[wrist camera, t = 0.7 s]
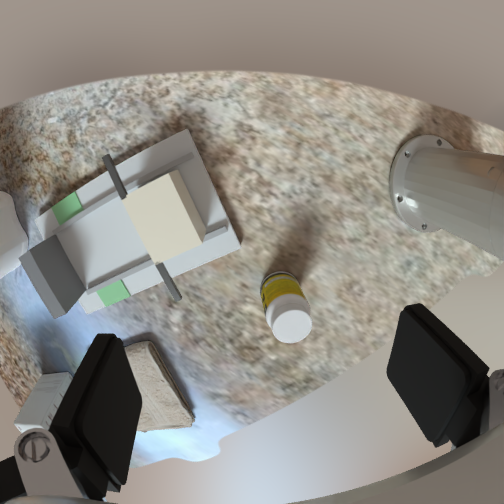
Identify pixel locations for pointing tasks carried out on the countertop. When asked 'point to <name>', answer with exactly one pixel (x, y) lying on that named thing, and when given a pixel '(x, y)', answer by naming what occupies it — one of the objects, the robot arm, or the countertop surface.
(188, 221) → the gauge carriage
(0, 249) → the jar
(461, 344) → the robot arm
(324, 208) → the countertop surface
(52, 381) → the supplement box
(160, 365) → the washcloth
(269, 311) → the supplement bottle
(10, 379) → the countertop surface
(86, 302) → the board
